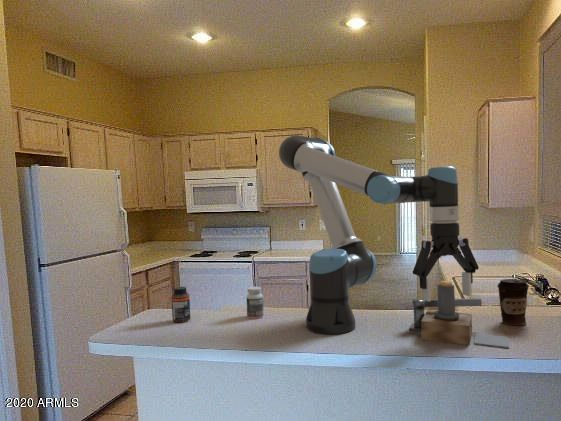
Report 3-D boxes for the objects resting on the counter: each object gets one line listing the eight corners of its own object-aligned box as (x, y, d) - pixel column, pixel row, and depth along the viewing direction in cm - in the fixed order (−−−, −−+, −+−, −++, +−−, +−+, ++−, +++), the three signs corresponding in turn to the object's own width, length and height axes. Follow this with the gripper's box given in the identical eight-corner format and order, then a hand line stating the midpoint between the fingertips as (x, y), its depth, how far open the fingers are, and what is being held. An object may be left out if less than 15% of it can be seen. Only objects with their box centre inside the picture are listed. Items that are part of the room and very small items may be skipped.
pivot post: (409, 329, 118) (408, 308, 118) (412, 325, 123) (411, 304, 123) (427, 332, 116) (426, 310, 116) (429, 327, 120) (428, 306, 120)
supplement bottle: (177, 318, 139) (176, 285, 139) (193, 318, 138) (192, 285, 138) (169, 323, 133) (167, 289, 133) (185, 323, 132) (184, 289, 132)
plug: (433, 337, 112) (431, 283, 111) (436, 330, 117) (435, 279, 117) (458, 340, 108) (456, 285, 108) (460, 333, 114) (459, 280, 114)
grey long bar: (414, 308, 118) (414, 301, 118) (411, 305, 121) (410, 298, 121) (483, 307, 117) (483, 300, 117) (477, 304, 120) (477, 297, 120)
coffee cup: (535, 328, 116) (534, 283, 116) (504, 327, 118) (503, 283, 118) (523, 319, 125) (522, 277, 125) (494, 318, 127) (493, 277, 127)
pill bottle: (248, 314, 141) (247, 286, 141) (264, 314, 140) (263, 286, 140) (245, 319, 135) (244, 289, 135) (262, 319, 135) (261, 289, 134)
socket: (421, 339, 110) (421, 320, 110) (427, 326, 121) (427, 310, 121) (469, 344, 105) (469, 325, 105) (471, 331, 115) (471, 314, 115)
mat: (474, 344, 105) (474, 342, 105) (475, 334, 112) (475, 333, 112) (509, 348, 101) (509, 346, 101) (508, 338, 108) (508, 337, 108)
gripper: (414, 224, 105) (417, 305, 105) (490, 220, 112) (493, 295, 113) (398, 224, 112) (400, 299, 112) (470, 219, 120) (473, 290, 120)
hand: (447, 297), depth 112 cm, fingers open, 13 cm apart
